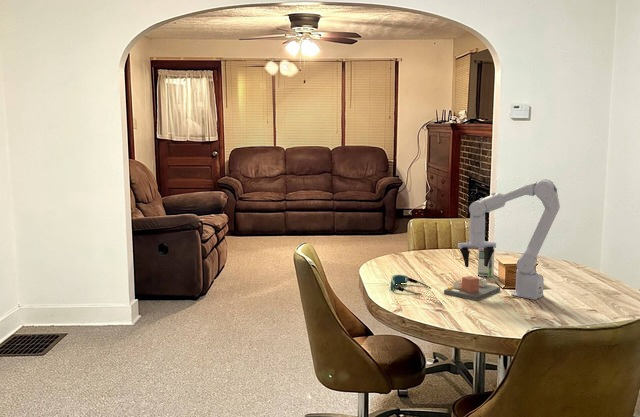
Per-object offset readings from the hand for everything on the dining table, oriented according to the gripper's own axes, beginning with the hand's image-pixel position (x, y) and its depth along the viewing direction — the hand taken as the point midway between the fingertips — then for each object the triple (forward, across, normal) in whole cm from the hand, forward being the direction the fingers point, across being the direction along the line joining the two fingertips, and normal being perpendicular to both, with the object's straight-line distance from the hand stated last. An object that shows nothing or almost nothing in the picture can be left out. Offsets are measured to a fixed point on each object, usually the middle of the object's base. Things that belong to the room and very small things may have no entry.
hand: (476, 266), depth 236 cm
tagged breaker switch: (+8, -8, -2) cm, 11 cm away
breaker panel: (+9, -2, -3) cm, 10 cm away
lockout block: (+8, -4, -6) cm, 11 cm away
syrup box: (+10, +12, +22) cm, 27 cm away
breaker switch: (+8, +2, 0) cm, 8 cm away
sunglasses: (+10, -25, +4) cm, 28 cm away
